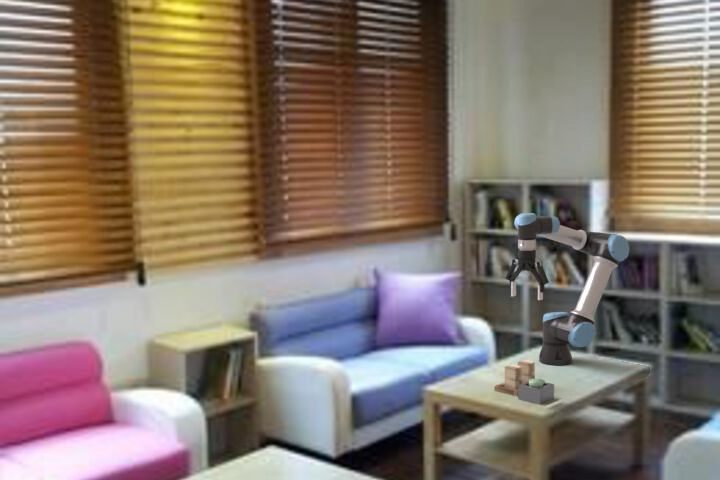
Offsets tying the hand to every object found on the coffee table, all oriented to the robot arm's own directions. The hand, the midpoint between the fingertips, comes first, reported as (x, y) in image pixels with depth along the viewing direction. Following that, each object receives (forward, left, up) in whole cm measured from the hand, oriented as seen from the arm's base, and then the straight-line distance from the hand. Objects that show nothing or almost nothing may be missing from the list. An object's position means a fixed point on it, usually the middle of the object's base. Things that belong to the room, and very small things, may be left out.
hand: (526, 298), depth 359 cm
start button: (+28, +23, -29) cm, 46 cm away
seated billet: (+25, +10, -34) cm, 43 cm away
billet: (+15, +10, -34) cm, 38 cm away
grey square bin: (+28, +23, -35) cm, 50 cm away
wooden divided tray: (+20, +10, -35) cm, 41 cm away
